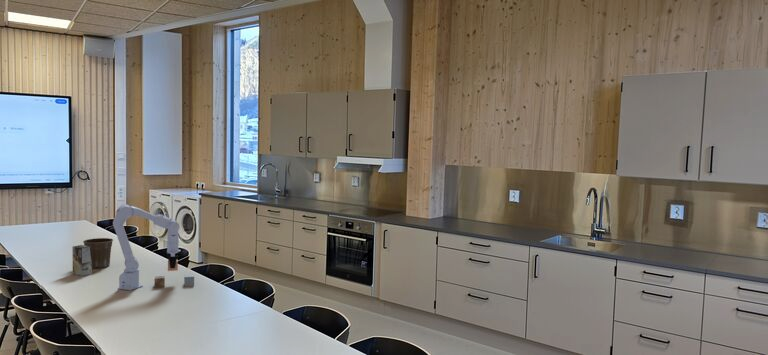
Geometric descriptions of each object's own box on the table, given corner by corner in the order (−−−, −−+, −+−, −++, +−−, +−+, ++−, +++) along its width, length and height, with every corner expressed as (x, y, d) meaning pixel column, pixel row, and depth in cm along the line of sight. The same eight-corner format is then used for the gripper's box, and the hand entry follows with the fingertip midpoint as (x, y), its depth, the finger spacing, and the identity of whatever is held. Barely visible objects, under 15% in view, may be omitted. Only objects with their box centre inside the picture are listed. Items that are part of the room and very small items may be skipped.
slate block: (184, 286, 299) (184, 277, 299) (184, 283, 304) (184, 274, 303) (194, 285, 301) (194, 276, 300) (193, 283, 305) (193, 274, 305)
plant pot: (76, 268, 330) (76, 241, 329) (96, 262, 345) (96, 237, 344) (99, 270, 326) (99, 243, 325) (118, 264, 342) (119, 239, 341)
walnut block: (154, 287, 294) (154, 278, 293) (154, 285, 298) (154, 276, 298) (164, 287, 295) (164, 278, 295) (164, 284, 300) (164, 275, 300)
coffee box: (92, 274, 317) (92, 246, 316) (81, 276, 312) (81, 248, 310) (82, 271, 321) (82, 244, 320) (71, 273, 316) (71, 246, 315)
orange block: (167, 270, 299) (167, 261, 298) (167, 268, 303) (167, 259, 303) (177, 270, 300) (177, 261, 300) (177, 268, 305) (177, 259, 305)
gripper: (180, 244, 295) (180, 269, 296) (180, 239, 309) (180, 263, 310) (166, 245, 293) (166, 270, 294) (167, 240, 306) (166, 264, 307)
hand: (172, 266), depth 302 cm, fingers closed on orange block, 5 cm apart
